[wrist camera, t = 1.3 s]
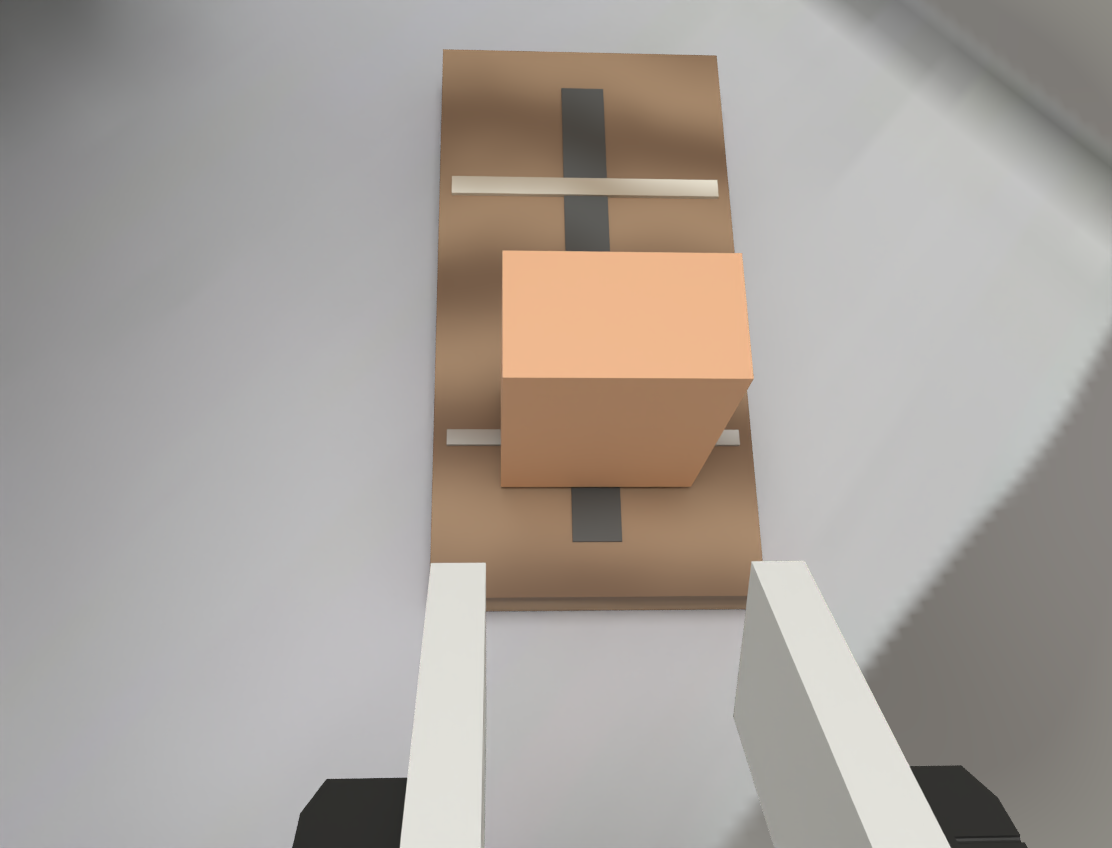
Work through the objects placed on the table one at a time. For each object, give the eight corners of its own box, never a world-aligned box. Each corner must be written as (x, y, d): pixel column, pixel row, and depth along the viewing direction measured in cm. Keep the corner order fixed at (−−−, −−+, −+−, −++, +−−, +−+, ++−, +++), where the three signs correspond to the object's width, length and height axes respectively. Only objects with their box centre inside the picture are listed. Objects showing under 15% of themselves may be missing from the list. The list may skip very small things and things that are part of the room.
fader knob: (691, 486, 38) (753, 378, 29) (500, 487, 38) (502, 377, 29) (684, 386, 40) (741, 253, 31) (500, 385, 39) (502, 250, 30)
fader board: (749, 608, 40) (767, 594, 37) (433, 611, 39) (429, 596, 37) (705, 92, 48) (717, 52, 46) (445, 87, 48) (443, 46, 45)
